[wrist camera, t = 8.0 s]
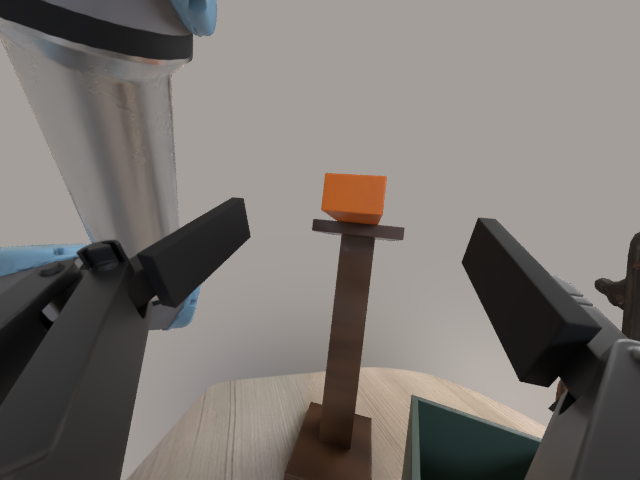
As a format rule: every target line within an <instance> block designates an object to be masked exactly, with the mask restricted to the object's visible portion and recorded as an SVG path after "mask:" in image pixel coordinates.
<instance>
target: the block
mask: <svg viewBox="0 0 640 480" xmlns="http://www.w3.org/2000/svg"><path fill="white" fill-rule="evenodd" d="M386 181H387V177H386V176H372V175H371V176H370V175H352V174H332V173H326V174H325V181H324V190H323V199H322V208H321V209H322V211H324V212H326V213H327V214H328V215H330V216H331V217H333V218H334V219H335V220H337V221H340V222H351V223H361V224H372V225H378V223H379V221H380V219H381V216H382V214H383V207H384V198H385V190H386Z"/></svg>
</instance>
